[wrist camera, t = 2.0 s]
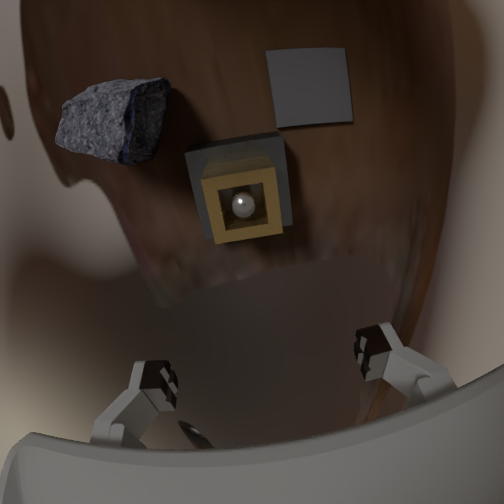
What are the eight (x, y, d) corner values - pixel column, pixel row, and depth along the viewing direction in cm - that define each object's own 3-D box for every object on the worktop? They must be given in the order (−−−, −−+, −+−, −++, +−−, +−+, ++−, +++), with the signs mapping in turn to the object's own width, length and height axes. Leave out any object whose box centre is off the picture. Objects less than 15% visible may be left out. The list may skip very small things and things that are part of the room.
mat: (265, 51, 27) (265, 51, 26) (342, 48, 27) (344, 48, 26) (276, 127, 31) (277, 127, 31) (350, 120, 31) (352, 121, 31)
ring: (205, 166, 29) (200, 179, 25) (267, 155, 29) (274, 167, 25) (217, 222, 32) (215, 244, 28) (275, 212, 32) (282, 233, 28)
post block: (189, 146, 32) (176, 164, 24) (276, 131, 32) (293, 144, 24) (206, 224, 37) (201, 263, 29) (286, 211, 37) (302, 246, 29)
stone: (191, 93, 30) (166, 174, 32) (119, 84, 30) (96, 159, 32) (158, 47, 18) (118, 163, 20) (68, 48, 18) (34, 148, 20)
